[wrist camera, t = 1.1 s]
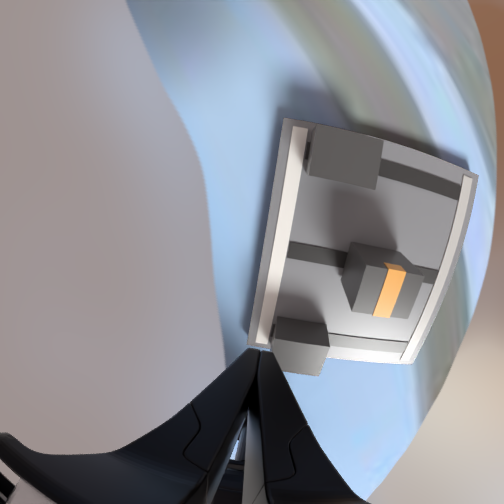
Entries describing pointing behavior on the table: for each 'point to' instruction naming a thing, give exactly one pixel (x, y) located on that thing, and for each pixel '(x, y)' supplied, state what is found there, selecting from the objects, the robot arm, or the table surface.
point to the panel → (352, 230)
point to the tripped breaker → (380, 281)
